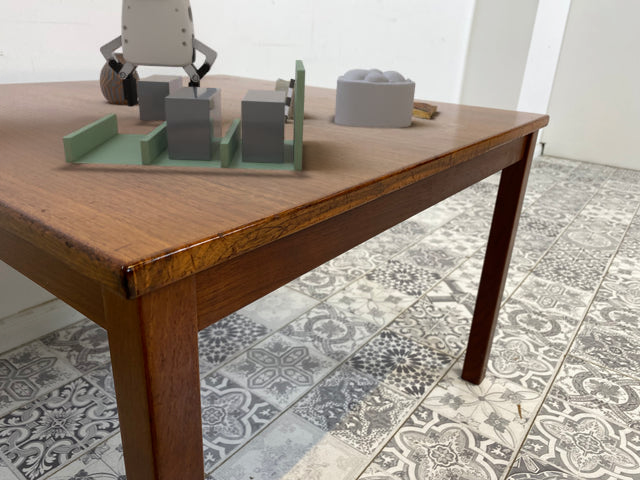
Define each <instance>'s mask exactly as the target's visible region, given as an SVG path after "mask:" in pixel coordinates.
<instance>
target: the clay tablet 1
mask: <svg viewBox="0 0 640 480" xmlns="http://www.w3.org/2000/svg"><path fill="white" fill-rule="evenodd" d="M165 108H166V124H167V140H168V156H169V159H174V160H203V161H211V159H212V158H213V156H214V154H215V152H216V151H217V149H218V147H219V146H220V143H221V142H222V138H223V126H222V125H223V124H222V121H223V120H222V119H223V118H222V88H221V87H205V86H203V87H201V86H200V87H188V86H183V87H182V88H180V89H179V90H177V91H175V92H173V93H172V94H170V95H168V96H167V97H165Z"/></svg>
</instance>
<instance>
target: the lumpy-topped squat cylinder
mask: <svg viewBox="0 0 640 480" xmlns="http://www.w3.org/2000/svg"><path fill="white" fill-rule="evenodd" d="M335 91H336V92H335V106H334V107H335V108H334V124H337V125H341V126H347V127H359V128H361V127H362V128H363V127H364V128H384V129H385V128H388V129H393V128H394V129H397V128H405V127H406V128H407V127H411V125H412V118H413V115H412V111H413V102H415V94H416V93H415V92H416V82H415V81H414V80H412V79H410V78H409V77H407V78H405V76H403V75H402V73H400V72H398V71H396V70H385V71H382V70H381V69H378V68H371V69H364V68H354V69H349V70H348V71H346V72H345V73H344V74H343V75H340V76H338V78H337V79H336V90H335Z"/></svg>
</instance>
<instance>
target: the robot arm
mask: <svg viewBox="0 0 640 480" xmlns="http://www.w3.org/2000/svg"><path fill="white" fill-rule="evenodd" d="M120 17H121V21H120V22H121V25H120V26H121V27H120V28H121V33H120V35H118V36H117V37H115V38H114V39H112V40H110V41H108V42H107V43H105V44H103V45H102V46H100V48H99V52H100V54H101V55H102V56H103V58H104V59H105V62H108V64H109V66H110V67H111V68H112V69H113V70H114V71H115V72H116V73H117V74H118V75H119V77H120V78H121V79H122V82H123V92H124V99H125V100H127V102H128V104H127V107H131V108H133V107H135V106H136V105H139V100H138V96H137V85H136V79H135V78H133V73H134V71H135V70H136V71H137V69H138V67H139V66H142V67H143V66H144V67H164V68H165V67H166V68H182V69H183V70H184V72H185V73H186V74H187V76H188V77H189V82H188V83H187V87H201V80H202V79H203V78H204V77H205V76H206V75H207V74H208V73H209V72H210V71H211V69H212V67H213V65H214V64H215V62H216V60H217V58H218V56H219V53H218V52H217V51H216V50H214V49H213V48H211V47H210V46H208V45H207V44H205V43H203V42H202V41H201V40H199V39H198V38H196V34H195V25H194V17H193V11H192V6H191V2H190V0H121V16H120ZM120 48H121V50H122V53H123V57H124V60H125V61H126V63H125V65H123V64H122V63H121V62H120V61H119V60H118V59H117V58H116V56H115V54H114V53H115V51H117V50H118V49H120ZM197 52H200V53H201V54H202V55H204V56H205V60H204V61H203V63H202V65H201V66H200V67H199V68H197V66H196V65H195V62H196V61H197Z"/></svg>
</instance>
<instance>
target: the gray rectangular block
mask: <svg viewBox="0 0 640 480" xmlns="http://www.w3.org/2000/svg"><path fill="white" fill-rule="evenodd" d="M137 87H138V110H139V120H140V121H156V122H165V121H166V108H165V97H167V96H168V95H170V94H172V93H173V92H175V91H177V90H179V89H180V88H182V87H184V84H183V75H176V74H175V75H174V74H173V75H172V74H152V75H149V76H146V77H143V78H141V79H140V80H138V81H137Z"/></svg>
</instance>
